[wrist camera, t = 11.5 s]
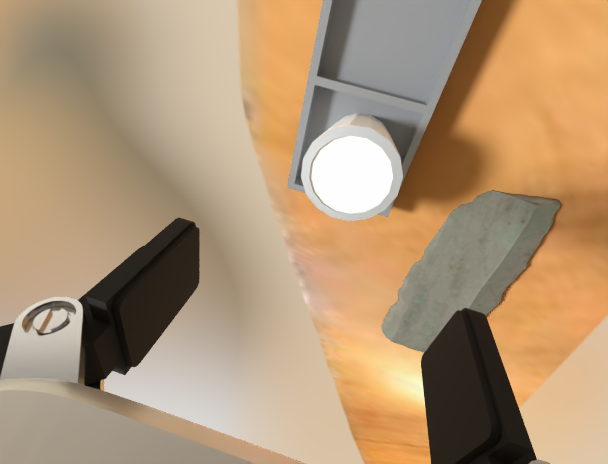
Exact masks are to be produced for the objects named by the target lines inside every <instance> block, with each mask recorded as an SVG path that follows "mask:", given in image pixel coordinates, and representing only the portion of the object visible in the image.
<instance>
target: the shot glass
mask: <svg viewBox="0 0 608 464" xmlns="http://www.w3.org/2000/svg"><path fill="white" fill-rule="evenodd" d="M301 179H302V182H303V186H304V189H305V192H306V195H307V196H308V197H309V199H310V200H311V201H312V202H313V204H314V205H315V206H316V207H317V208H318V209H319V210H321V211H323V212H324V213H326V214H328V215H329V216H331V217H332V218H337V219H342V220H347V221H355V220H363V219H369V218H371V217H373V216H375V215H377V214H378V213H380V212H382V211H384V210H385V209H386V208H387V207H388V206H389V205H390V204H391V202H392V201H393V200H394V199H395V198H396V197H397V195H398V192H399V189H400V186H401V182H402V179H403V173H402V165H401V158H400V155H399V153H398V151H397V149H396V147H395V144H394V142H393V140H392V138H391V136H390V134H389V132H388V131H387V129H386V127H385V126H384V124H383V123H382V122H381V121H379V120H378V119H376V118H375V117H373V116H372V115H366V114H360V113H356V114H352V115H349V116H345V117H343V118H342V119H341V120H339V121H338V122H337V123H335V124H334V125H333V126H332V127H330V128H329V129H328V130H327V131H325V132H324V133H323V134H322V135H320V136H319V137H318V138H317V139H316V140H314V141H313V142H312V144H311V145H310V147H309V149H308V151H307V152H306V154H305V156H304V158H303V162H302V172H301Z"/></svg>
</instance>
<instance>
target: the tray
mask: <svg viewBox="0 0 608 464" xmlns="http://www.w3.org/2000/svg"><path fill="white" fill-rule="evenodd" d="M481 1H482V0H323V4H322V9H321V14H320V19H319V25H318V30H317V35H316V40H315V45H314V50H313V56H312V61H311V66H310V71H309V76H308V82H307V87H306V92H305V97H304V102H303V107H302V113H301V118H300V123H299V128H298V133H297V139H296V144H295V149H294V154H293V159H292V164H291V170H290V175H289V180H288V185H287V188H290V189H294V190H297V191H300V192H304V193H306V192H305V189H304V186H303V182H302V179H301V172H302V162H303V158H304V156H305V154H306V152H307V151H308V149H309V147H310V145H311V144H312V142H313V141H314V140H316V139H317V138H318V137H319V136H320V135H322V134H323V133H324V132H325V131H327V130H328V129H329V128H330V127H332V126H333V125H334V124H335V123H337V122H338V121H339V120H341V119H342V118H343V117H345V116H349V115H352V114H356V113H360V114H366V115H372V116H373V117H375V118H376V119H378V120H379V121H381V122H382V123H383V124H384V126H385V127H386V129H387V131H388V132H389V134H390V136H391V138H392V140H393V142H394V144H395V147H396V149H397V151H398V153H399V155H400V158H401V165H402V173H403V179H402V182H401V185H402V183H403V181H404V178H405V176H406V174H407V172H408V169H409V167H410V165H411V162H412V160H413V158H414V155H415V153H416V151H417V149H418V146H419V144H420V142H421V139H422V137H423V135H424V132H425V130H426V128H427V126H428V123H429V121H430V119H431V116H432V114H433V112H434V109H435V107H436V105H437V103H438V100H439V98H440V96H441V93H442V91H443V89H444V86H445V84H446V82H447V80H448V77H449V75H450V73H451V70H452V68H453V66H454V63H455V61H456V59H457V57H458V54H459V52H460V50H461V47H462V45H463V43H464V40H465V38H466V36H467V33H468V31H469V29H470V27H471V24H472V22H473V20H474V17H475V15H476V13H477V10H478V8H479V6H480V4H481ZM400 188H401V186H400ZM399 190H400V189H399ZM395 199H396V198H395ZM395 199H394V200H393V201H392V202H391V204H390V205H389V206H388V207H387V208H386V209H385V210H384V211H382V212H380V213H378V215H382V216H385V217H388V215H389V213H390V211H391V208H392V206H393V204H394V201H395Z"/></svg>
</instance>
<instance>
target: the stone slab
mask: <svg viewBox="0 0 608 464" xmlns="http://www.w3.org/2000/svg"><path fill="white" fill-rule="evenodd" d="M560 207H561V204H560V202H559V201H558V200H556V199H549V198H543V197H537V196H527V195H522V194H509V193H503V192H499V191H495V190H492V191H489V192H486V193H483V194H481V195H479V196H477V197H476V198H475V199H474V200H473V201H472V202H470V203H467V204H462V205H460V206H459V207H458V208H457V209H455V210H454V211H452V212H451V214H450V215H449V216H448V218H447V219H446V221H445V222H444V224H443V226H442V227H441V228H440V230H439V231H438V233H437V234H436V235H435V237H434V238H433V240H432V241H431V242H430V243H429V245H428V246H427V247H426V249H425V252H424V255H423V257H422V259H421V260H420V261H418V262H416V263H414V264H413V265H412V267H411V269H410V271H409V273H408V275H407V276H406V277H405V279H404V281H403V285H402V287H401V288H400V289H399V290H398V297H399V300H398V301H397V302H396V304H394V305H393V306H391V308H390V310H389V312H388V314H387V316H386V318H385V319H384V323H383V325H382V331H383V333H384V334H385V336H386V337H387V338H388V339H390V340H391V341H393V342H394V343H397V344H401V345H404V346H406V347H408V348H411V349H414V350H417V351H421V352H425V351H426V350H427V349H428V347H429V346H430V345H431V343H432V342H433V341H434V339H435V338H436V337H437V335H438V334H439V333H440V332H441V330H442V329H443V328H444V326H445V325H446V324H447V322H448V321H449V320H450V318H451V317H452V316H453V314H454V313H455V312H456V311H457V310H460V311H461V310H462V309H464V308H468V309H471V310H475V311H478V312H481V313H483V314H485V316H487V314H488V313H489V312H490V311H491V310H493V309H494V308H495V307H496V306H497V305H498V304H499V303H500V302H501V298H502V296H503V292H504V291H505V290H506V289H507V287H508V286H509V285H510V284H511V283H512V282H514V281H515V279H516V278H517V277H518V276H519V275H520V274H521V273H522V271H523V270H524V269H525V268H527V263H528V261H529V260H530V257H531V256H532V255H533V253H534V251H535V250H536V248H538V246H539V245H540V243H541V240H542V238H543V237H544V236H545V235H546V234H547V233H548V231H549V229H550V227H551V225H552V224H553V222H554V214H555V213H556V211H557V210H558V209H559V208H560Z"/></svg>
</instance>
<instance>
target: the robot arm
mask: <svg viewBox="0 0 608 464" xmlns="http://www.w3.org/2000/svg"><path fill="white" fill-rule="evenodd" d="M198 284H199V228H197V227H196V225H195V223H194V222H192V221H188V220H185V219H182V218H177V219H175V220H174V221H173V222H172V223H171V224H169V225H168V226H167V227H166V228H165V229H164V230H162V231H161V232H160V233H159V234H158V235H157V236H155V237H154V238H153V239H152V240H151V241H150V242H148V243H147V244H146V245H145V246H142V247H141V248H139V249H138V250H137V251H135V252H134V253H133V254H132V255H131V256H130V257H128V258H127V259H126V260H125V261H124V262H123V263H121V264H120V265H119V266H118V267H117V268H116V269H114V270H113V271H112V272H111V273H110V274H108V275H107V276H106V277H105V278H104V279H102V280H101V281H100V282H99V283H98V284H97V285H95V286H94V287H93V288H92V289H91V290H90V291H88V292H87V293H86V294H85V295H84V296H82V297H81V298H80V299H79V300H76V299H73V298H70V297H64V296H62V297H52V298H48V299H44V300H42V301H39V302H37V303H35V304H33V305H31V306H30V307H28V308H27V309H25V310H24V311H23V312H22V313H21V314H20V315H19V316H18V317H17V319H16V321H15V323H13V324H9V325H5V326H1V327H0V464H305V463H302V462H300V461H297V460H294V459H291V458H289V457H286V456H283V455H281V454H278V453H275V452H272V451H270V450H267V449H264V448H262V447H259V446H256V445H253V444H251V443H248V442H245V441H243V440H240V439H237V438H234V437H232V436H229V435H226V434H223V433H220V432H218V431H215V430H212V429H210V428H207V427H204V426H201V425H199V424H196V423H193V422H190V421H188V420H185V419H182V418H179V417H177V416H174V415H171V414H168V413H166V412H163V411H160V410H157V409H154V408H151V407H149V406H146V405H143V404H140V403H137V402H134V401H131V400H128V399H125V398H123V397H120V396H117V395H114V394H111V393H108V392H104V379H106V378H107V376H108V375H109V374H110V373H111V371H115V372H118V373H121V374H123V375H126V373H127V372H128V371H129V369H130V368H131V367H136V366H137V365H138V364H139V363H140V362H141V361H142V360H143V358H144V357H145V356H146V354H147V353H148V352H149V350H150V349H151V348H152V346H153V345H154V344H155V343H156V341H157V340H158V339H159V337H160V336H161V335H162V333H163V332H164V331H165V329H166V328H167V327H168V325H169V324H170V323H171V321H172V320H173V319H174V317H175V316H176V315H177V314H178V312H179V311H180V310H181V308H182V307H183V306H184V304H185V303H186V302H187V300H188V299H189V298H190V296H191V295H192V294H193V292H194V291H195V290H196V288H197V286H198ZM421 369H422V378H423V388H424V397H425V407H426V417H427V426H428V436H429V446H430V455H431V464H550V463H548V462H545V461H541V460H537V459H536V456H535V453H534V450H533V447H532V444H531V442H530V439H529V436H528V433H527V430H526V428H525V425H524V422H523V419H522V416H521V413H520V410H519V408H518V405H517V402H516V399H515V396H514V394H513V391H512V388H511V385H510V382H509V379H508V377H507V374H506V371H505V368H504V366H503V363H502V360H501V357H500V354H499V352H498V349H497V346H496V343H495V340H494V337H493V335H492V332H491V329H490V326H489V323H488V320H487V318H486V316H485V314H483V313H481V312H478V311H475V310H471V309H468V308H464V309H462V310H461V311H460V310H457V311H456V312H455V313H454V314H453V316H452V317H451V318H450V320H449V321H448V322H447V324H446V325H445V326H444V328H443V329H442V330H441V332H440V333H439V334H438V335H437V337H436V338H435V339H434V341H433V342H432V343H431V345H430V346H429V347H428V349H427V350H426V351H425V353H424V354H423V356H422V359H421Z"/></svg>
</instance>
